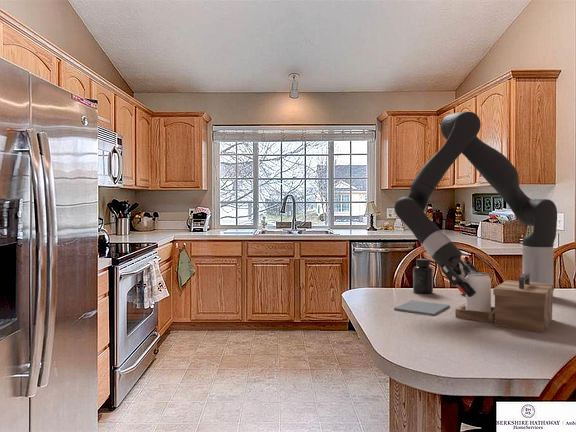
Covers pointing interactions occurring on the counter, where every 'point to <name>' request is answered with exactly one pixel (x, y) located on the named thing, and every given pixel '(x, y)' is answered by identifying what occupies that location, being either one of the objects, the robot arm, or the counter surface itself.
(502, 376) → the counter surface
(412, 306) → the mat
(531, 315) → the toolbox
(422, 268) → the supplement bottle
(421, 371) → the counter surface
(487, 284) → the can
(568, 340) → the counter surface
